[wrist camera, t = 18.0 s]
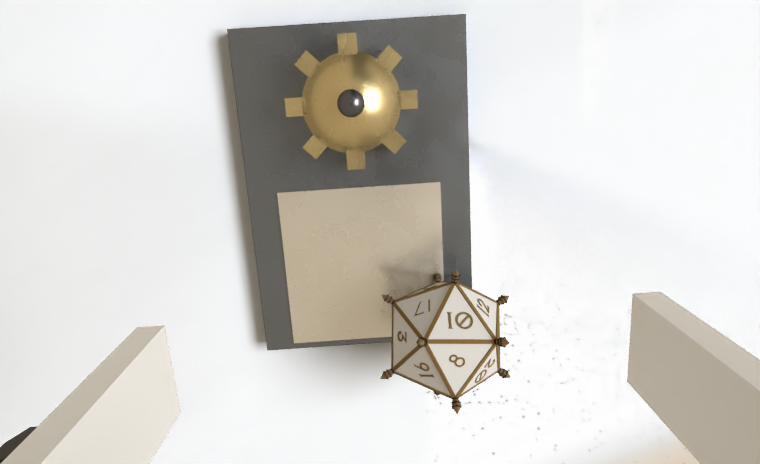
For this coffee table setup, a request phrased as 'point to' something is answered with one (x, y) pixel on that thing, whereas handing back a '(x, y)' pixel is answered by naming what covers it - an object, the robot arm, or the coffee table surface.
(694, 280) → the coffee table surface
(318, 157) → the carrier plate
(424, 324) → the game die
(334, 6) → the coffee table surface
